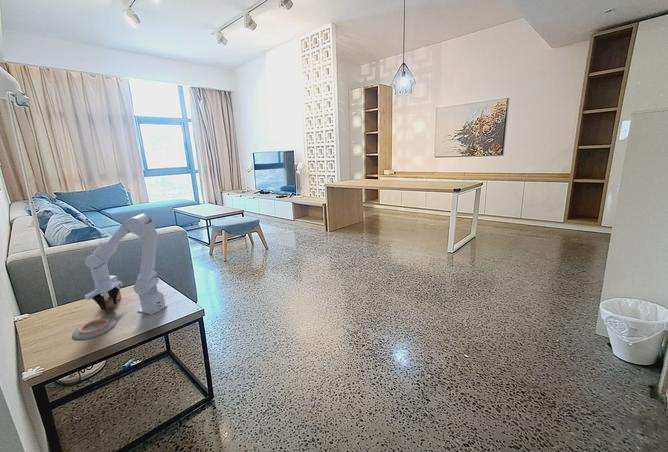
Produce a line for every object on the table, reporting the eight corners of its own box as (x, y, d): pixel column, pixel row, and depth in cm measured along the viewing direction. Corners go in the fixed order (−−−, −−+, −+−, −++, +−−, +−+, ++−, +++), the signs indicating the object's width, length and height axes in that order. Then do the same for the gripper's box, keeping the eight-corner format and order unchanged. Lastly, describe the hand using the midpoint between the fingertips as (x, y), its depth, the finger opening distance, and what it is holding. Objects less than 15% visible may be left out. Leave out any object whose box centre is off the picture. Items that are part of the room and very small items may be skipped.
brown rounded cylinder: (117, 307, 132) (114, 298, 131) (107, 312, 128) (105, 302, 127) (111, 306, 133) (108, 296, 132) (101, 311, 129) (99, 301, 128)
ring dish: (124, 322, 122) (123, 318, 122) (87, 342, 110) (86, 338, 109) (102, 316, 127) (101, 313, 127) (64, 335, 114) (63, 331, 114)
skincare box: (111, 303, 138) (105, 280, 135) (103, 303, 139) (98, 280, 136) (122, 297, 144) (117, 275, 141) (115, 297, 145) (110, 275, 142)
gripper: (112, 271, 135) (119, 297, 138) (77, 285, 122) (85, 313, 125) (123, 273, 132) (129, 299, 136) (88, 287, 119) (95, 316, 123)
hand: (108, 306), depth 130 cm, fingers closed on brown rounded cylinder, 4 cm apart
